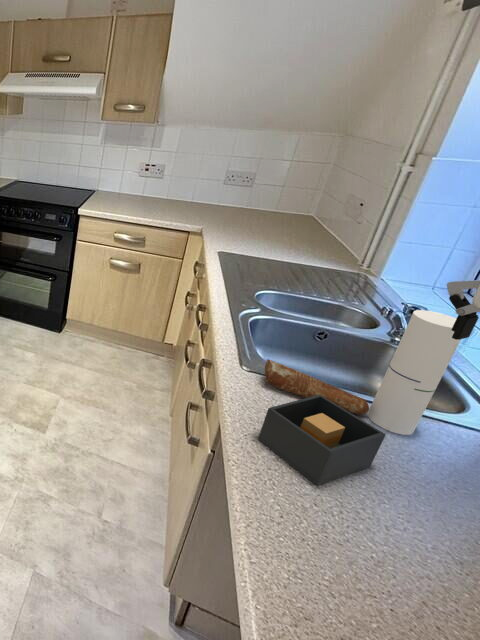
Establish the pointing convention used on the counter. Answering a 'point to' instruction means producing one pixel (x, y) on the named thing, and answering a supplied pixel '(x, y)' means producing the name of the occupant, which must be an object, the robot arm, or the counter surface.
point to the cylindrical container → (414, 372)
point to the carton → (323, 429)
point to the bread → (311, 387)
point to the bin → (309, 452)
